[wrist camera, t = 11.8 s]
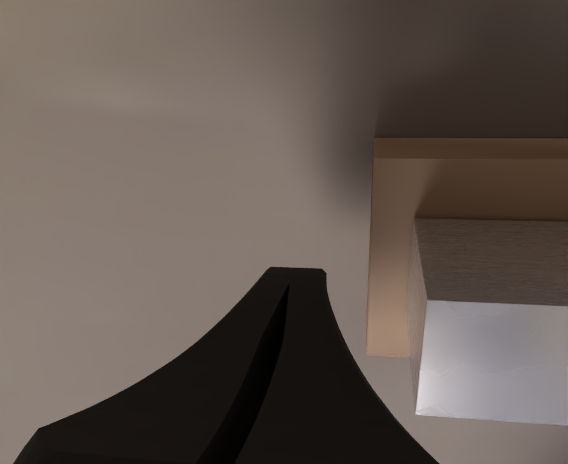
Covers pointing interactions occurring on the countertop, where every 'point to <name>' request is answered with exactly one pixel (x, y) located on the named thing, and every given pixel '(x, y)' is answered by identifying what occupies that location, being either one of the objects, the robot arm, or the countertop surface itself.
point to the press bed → (449, 207)
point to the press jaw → (489, 319)
